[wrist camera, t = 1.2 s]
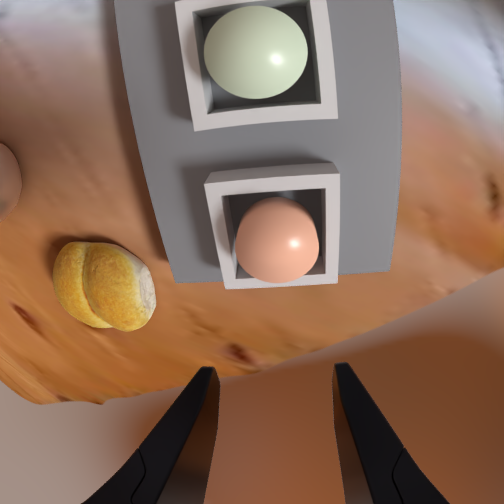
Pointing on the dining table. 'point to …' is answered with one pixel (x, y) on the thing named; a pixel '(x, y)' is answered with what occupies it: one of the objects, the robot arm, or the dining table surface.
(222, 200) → the panel
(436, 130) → the dining table surface
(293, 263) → the terracotta button
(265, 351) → the dining table surface
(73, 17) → the dining table surface
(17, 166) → the plastic bottle
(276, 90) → the sage button
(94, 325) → the bread roll
